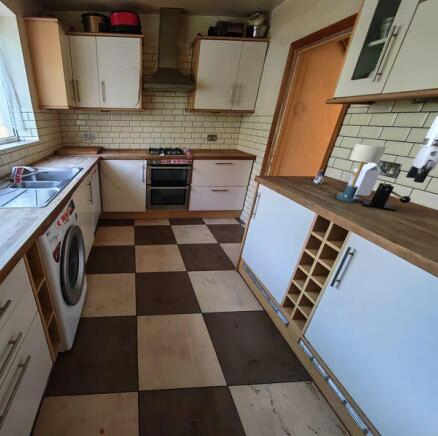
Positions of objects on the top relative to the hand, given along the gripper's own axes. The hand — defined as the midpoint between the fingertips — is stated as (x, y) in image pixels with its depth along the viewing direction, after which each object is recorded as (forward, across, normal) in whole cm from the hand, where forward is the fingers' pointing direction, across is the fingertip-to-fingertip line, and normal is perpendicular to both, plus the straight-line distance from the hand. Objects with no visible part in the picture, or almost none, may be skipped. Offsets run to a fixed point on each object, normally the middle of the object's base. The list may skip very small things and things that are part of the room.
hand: (413, 179), depth 110 cm
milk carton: (+16, +21, +12) cm, 29 cm away
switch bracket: (+16, 0, +8) cm, 18 cm away
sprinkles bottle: (+16, +29, +15) cm, 36 cm away
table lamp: (+16, +4, +20) cm, 26 cm away
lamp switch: (+10, 0, +4) cm, 11 cm away
